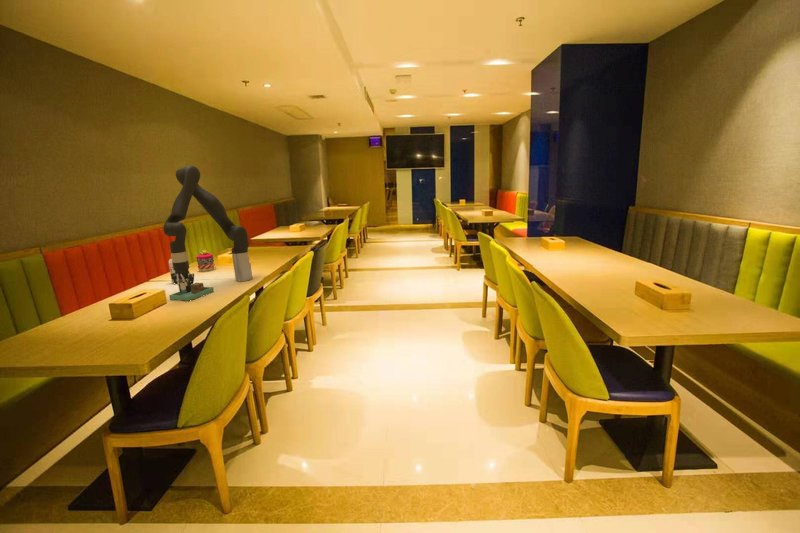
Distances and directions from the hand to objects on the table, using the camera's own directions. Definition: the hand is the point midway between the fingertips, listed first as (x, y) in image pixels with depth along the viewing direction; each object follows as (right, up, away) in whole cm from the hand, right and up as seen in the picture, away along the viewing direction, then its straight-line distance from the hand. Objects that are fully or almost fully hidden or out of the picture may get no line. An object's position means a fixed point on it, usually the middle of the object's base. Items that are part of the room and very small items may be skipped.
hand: (185, 291), depth 216 cm
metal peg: (0, -1, 0) cm, 1 cm away
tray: (+1, -2, +4) cm, 5 cm away
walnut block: (+3, -1, +8) cm, 9 cm away
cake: (-19, +11, +64) cm, 68 cm away
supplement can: (-22, +3, +35) cm, 41 cm away
